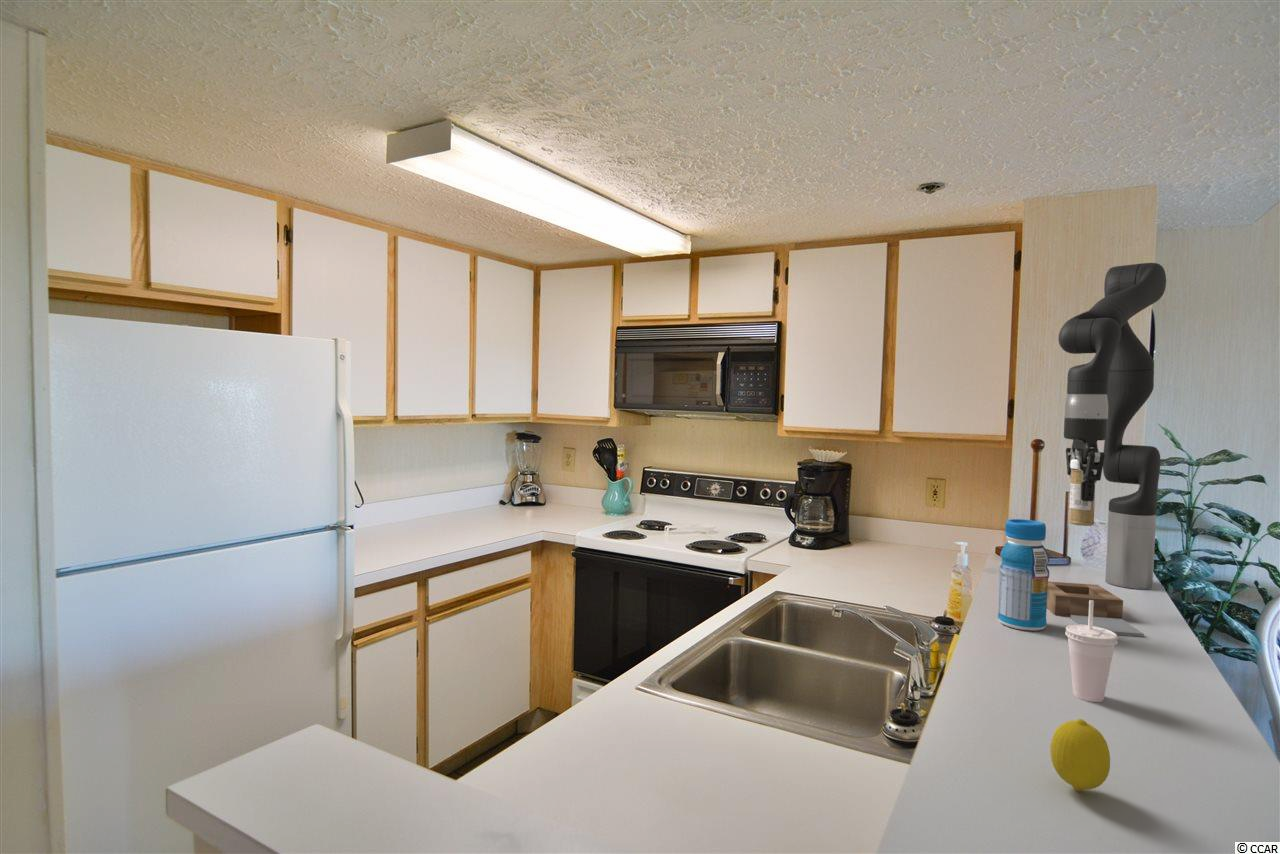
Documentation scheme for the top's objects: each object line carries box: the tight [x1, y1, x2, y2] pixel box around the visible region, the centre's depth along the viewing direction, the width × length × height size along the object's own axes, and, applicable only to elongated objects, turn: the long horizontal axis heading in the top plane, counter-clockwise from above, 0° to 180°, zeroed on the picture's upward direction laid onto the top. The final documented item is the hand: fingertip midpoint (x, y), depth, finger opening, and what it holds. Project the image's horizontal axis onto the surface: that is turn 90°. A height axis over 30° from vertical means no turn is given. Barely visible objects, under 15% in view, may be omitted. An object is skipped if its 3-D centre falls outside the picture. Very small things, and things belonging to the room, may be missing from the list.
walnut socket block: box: [1046, 580, 1124, 619], centre depth 144 cm, size 12×12×4 cm
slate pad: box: [1070, 615, 1145, 638], centre depth 132 cm, size 9×9×1 cm
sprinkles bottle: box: [1068, 459, 1096, 527], centre depth 142 cm, size 5×5×14 cm
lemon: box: [1050, 718, 1111, 793], centre depth 76 cm, size 6×6×8 cm
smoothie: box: [1064, 600, 1119, 703], centre depth 100 cm, size 6×6×14 cm
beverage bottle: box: [997, 518, 1050, 632], centre depth 133 cm, size 8×8×20 cm
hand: (1082, 498), depth 143 cm, fingers closed on sprinkles bottle, 4 cm apart
